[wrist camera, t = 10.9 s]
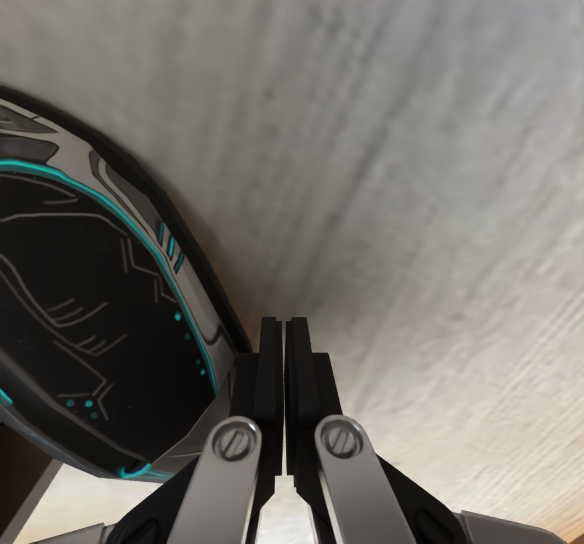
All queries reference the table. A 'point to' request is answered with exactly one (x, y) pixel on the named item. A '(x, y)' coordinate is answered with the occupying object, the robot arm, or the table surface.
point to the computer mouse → (104, 305)
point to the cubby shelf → (21, 481)
